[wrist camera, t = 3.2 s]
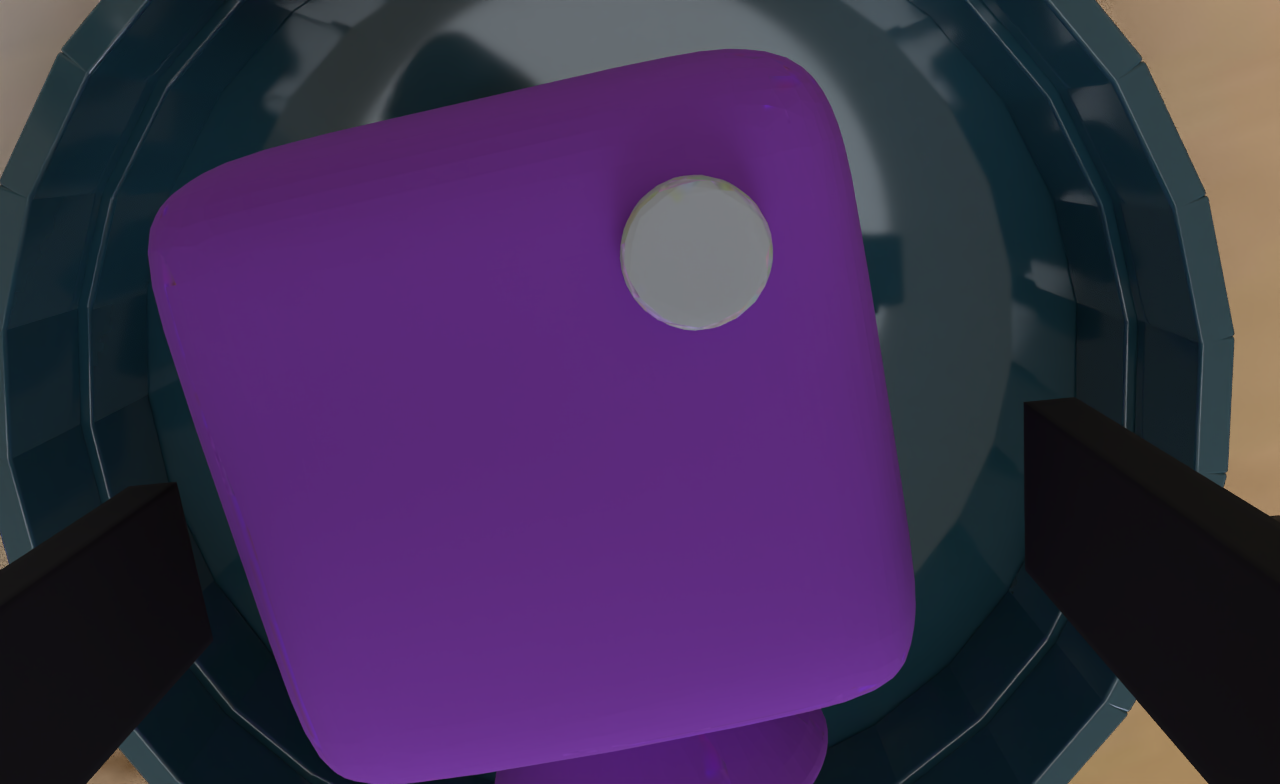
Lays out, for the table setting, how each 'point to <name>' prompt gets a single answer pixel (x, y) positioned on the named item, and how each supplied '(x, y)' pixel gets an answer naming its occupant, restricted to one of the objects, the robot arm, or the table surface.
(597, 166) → the toy camera
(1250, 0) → the table surface
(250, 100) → the bowl
